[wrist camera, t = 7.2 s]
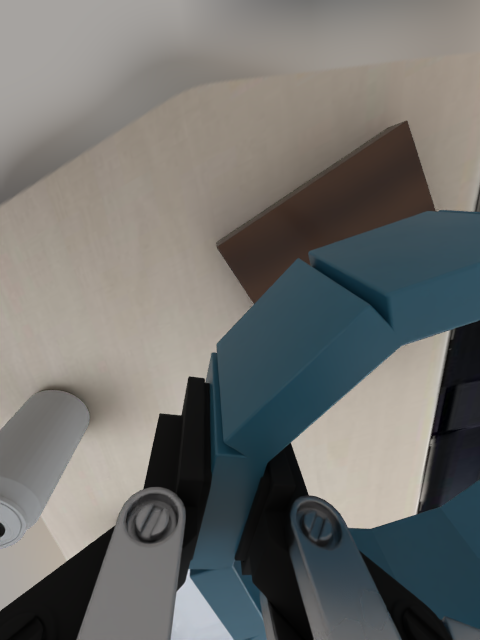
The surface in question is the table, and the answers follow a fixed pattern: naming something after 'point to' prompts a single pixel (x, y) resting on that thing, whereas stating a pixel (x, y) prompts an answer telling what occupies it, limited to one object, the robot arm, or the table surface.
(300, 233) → the platform
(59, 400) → the beverage can
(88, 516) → the table surface
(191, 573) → the ring
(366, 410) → the table surface
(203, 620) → the tray
